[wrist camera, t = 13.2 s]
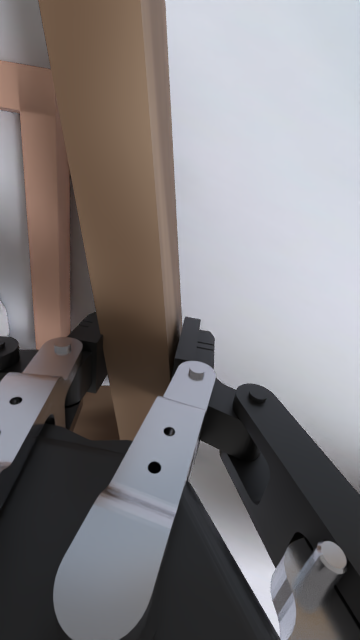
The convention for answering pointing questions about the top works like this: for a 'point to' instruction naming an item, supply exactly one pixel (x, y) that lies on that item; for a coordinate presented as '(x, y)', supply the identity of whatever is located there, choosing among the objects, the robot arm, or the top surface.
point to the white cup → (3, 321)
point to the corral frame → (43, 193)
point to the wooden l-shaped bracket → (121, 194)
